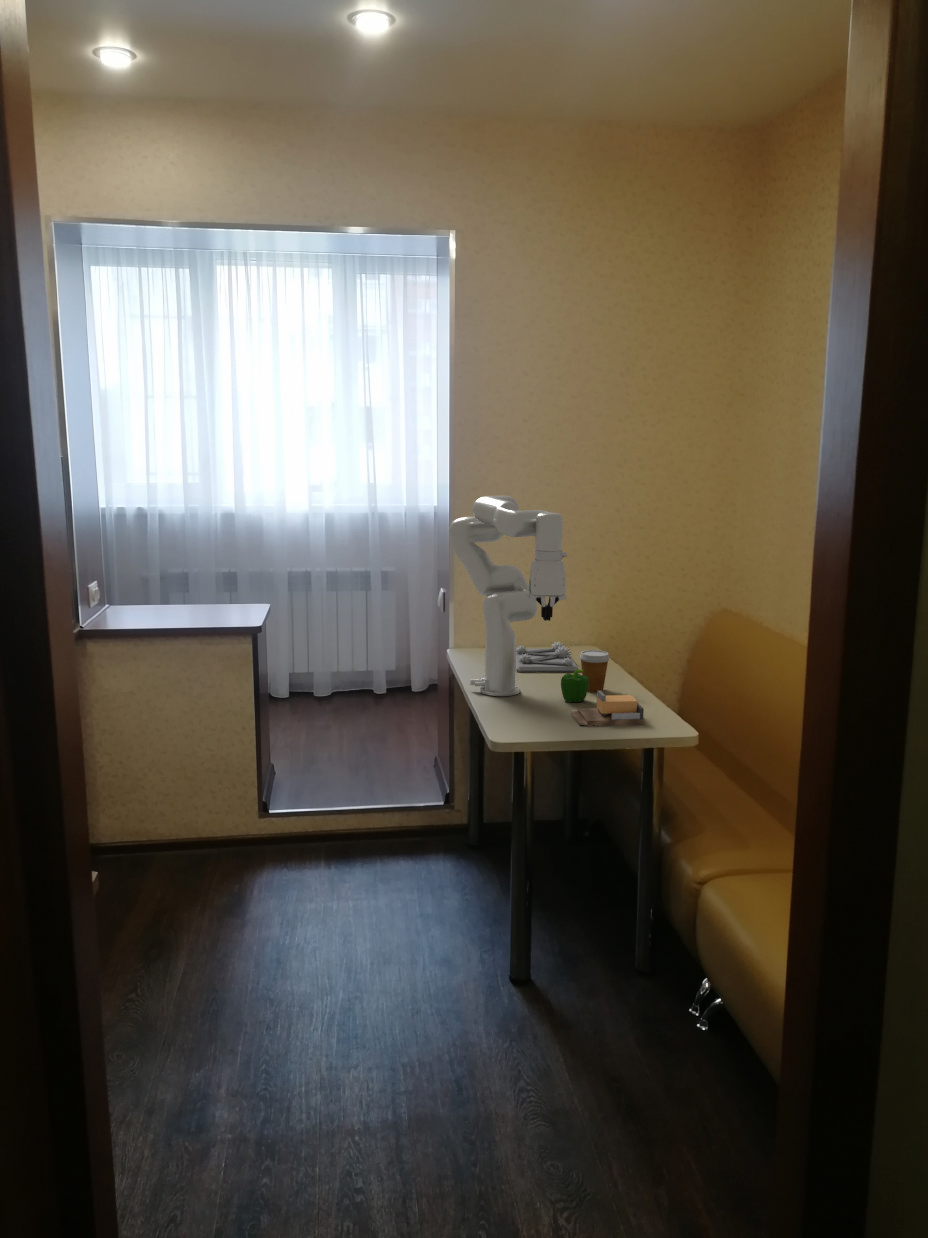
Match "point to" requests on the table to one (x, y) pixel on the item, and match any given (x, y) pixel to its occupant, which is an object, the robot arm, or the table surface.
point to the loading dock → (608, 717)
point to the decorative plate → (545, 659)
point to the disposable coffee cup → (594, 668)
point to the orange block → (615, 703)
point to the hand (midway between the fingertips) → (546, 619)
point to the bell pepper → (574, 686)
